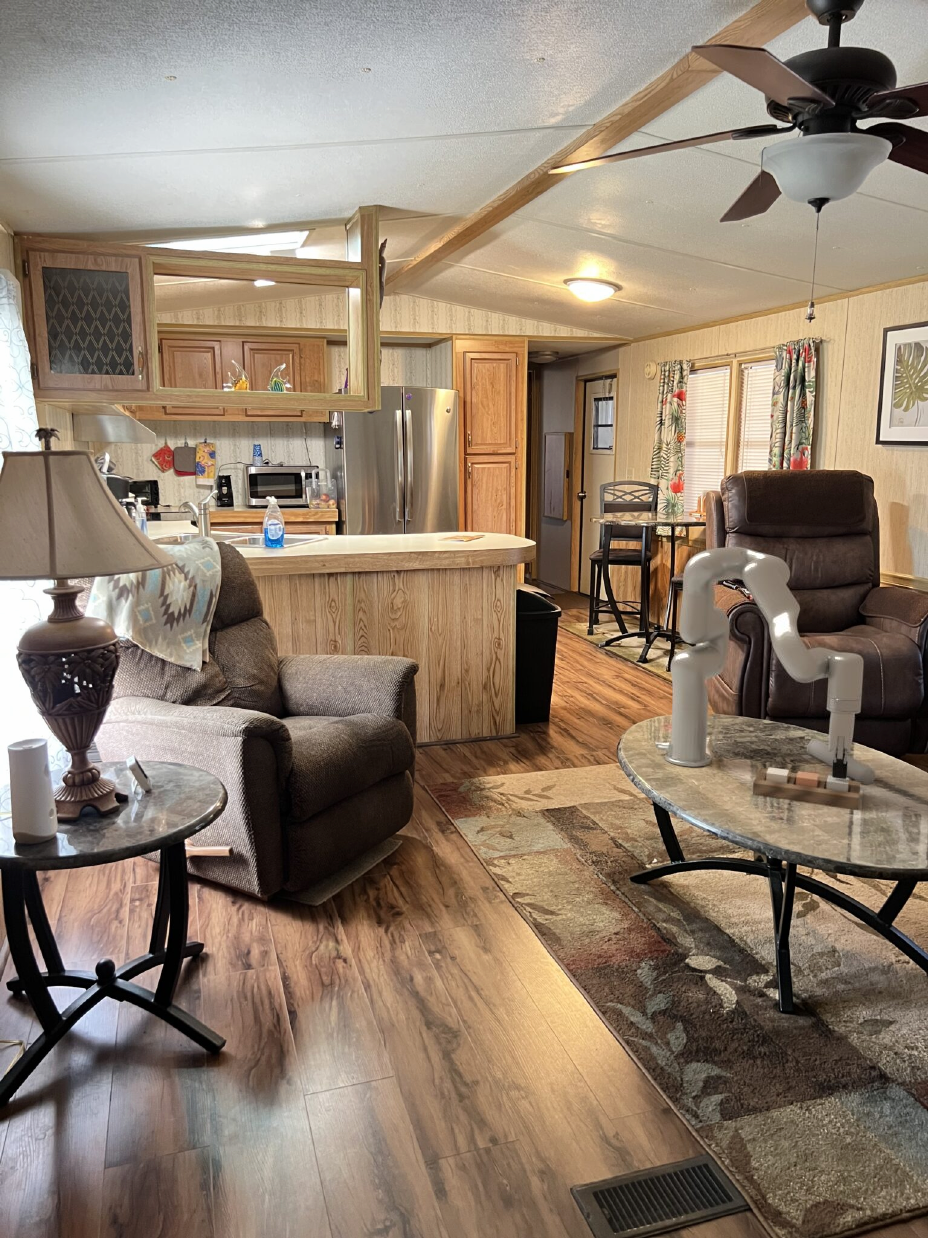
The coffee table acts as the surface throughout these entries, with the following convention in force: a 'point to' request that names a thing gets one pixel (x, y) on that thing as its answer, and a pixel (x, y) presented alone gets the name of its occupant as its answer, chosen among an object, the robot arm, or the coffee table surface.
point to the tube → (854, 767)
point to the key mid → (807, 779)
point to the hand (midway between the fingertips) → (839, 777)
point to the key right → (837, 784)
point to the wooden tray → (807, 791)
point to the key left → (777, 775)
